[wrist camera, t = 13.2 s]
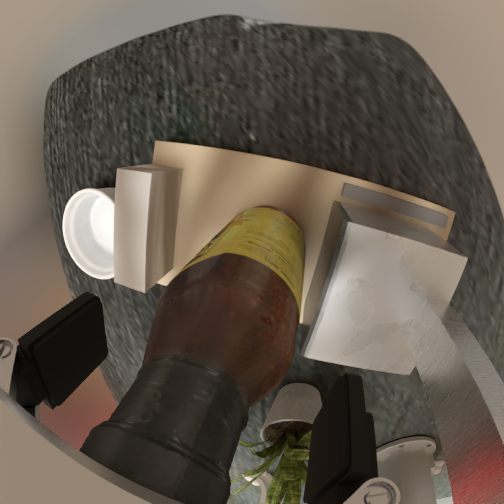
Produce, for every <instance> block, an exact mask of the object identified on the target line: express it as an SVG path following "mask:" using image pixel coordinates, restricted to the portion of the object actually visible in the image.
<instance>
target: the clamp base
mask: <svg viewBox="0 0 504 504" xmlns="http://www.w3.org/2000/svg"><path fill="white" fill-rule="evenodd" d="M333 200H334V201H338V202H341V203H345V204H349V205H352V206H356V207H360V208H363V209H367V210H370V211H374V212H377V213H380V214H384V215H387V216H390V217H394V218H397V219H400V220H403V221H406V222H410V223H413V224H416V225H419V226H422V227H425V228H428V229H430V230H431V231H433V232H434V233H436V234H437V235H438V236H440V237H441V238H442V239H444V240H445V241H446V242H447V239H448V236H449V233H450V229H451V226H452V223H453V220H454V216H455V213H456V212H454V211H452V210H449V209H447V208H445V207H442V206H440V205H437V204H434V203H432V202H429V201H426V200H424V199H421V198H418V197H415V196H412V195H409V194H406V193H403V192H400V191H397V190H394V189H391V188H388V187H385V186H382V185H378V184H375V183H372V182H368V181H365V180H362V179H358V178H355V177H351V176H347V175H344V174H340V173H336V172H332V171H329V170H325V169H321V168H317V167H312V166H308V165H304V164H300V163H295V162H291V161H286V160H281V159H277V158H272V157H267V156H262V155H256V154H251V153H245V152H240V151H234V150H228V149H222V148H215V147H208V146H201V145H194V144H186V143H178V142H169V141H155V148H154V156H153V163H152V164H147V165H139V166H131V167H123V168H117V175H116V188H115V205H114V282H116V283H118V284H121V285H124V286H127V287H129V288H132V289H135V290H138V291H141V292H143V293H146V292H147V291H148V290H149V289H150V288H151V287H152V286H154V285H155V284H156V283H159V284H162V285H165V286H167V285H168V284H169V283H170V281H171V280H172V279H173V278H174V277H175V276H176V275H177V274H178V273H179V272H180V271H181V270H182V269H183V267H184V266H185V265H186V264H187V263H189V262H190V261H191V260H192V259H193V258H194V257H195V255H196V254H197V253H198V252H199V251H200V250H201V249H202V248H203V247H204V246H205V245H206V244H207V243H208V242H209V241H210V240H211V239H212V238H213V237H214V236H215V235H217V234H218V233H219V232H220V231H221V230H222V229H223V228H224V227H225V226H226V225H227V224H228V223H229V222H230V221H231V220H232V219H233V218H234V217H235V216H236V215H237V214H239V213H241V212H243V211H246V210H248V209H251V208H254V207H257V206H260V205H267V206H268V205H269V206H273V207H277V208H279V209H282V210H283V211H285V212H287V213H288V214H290V215H291V216H293V217H294V219H295V220H296V221H297V223H298V225H299V227H300V229H301V231H302V233H303V237H304V241H305V247H306V255H305V271H304V282H303V293H302V304H301V314H300V323H303V312H304V304H305V301H306V297H307V294H308V291H309V288H310V284H311V281H312V278H313V274H314V271H315V267H316V264H317V261H318V257H319V253H320V250H321V246H322V243H323V239H324V235H325V232H326V228H327V224H328V220H329V216H330V212H331V208H332V204H333Z"/></svg>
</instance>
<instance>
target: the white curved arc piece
mask: <svg viewBox="0 0 504 504" xmlns="http://www.w3.org/2000/svg"><path fill="white" fill-rule="evenodd" d="M260 473H261V472H260ZM260 473H258V474H256V475H251V476H247V475H244V474H242V477H244V476H247V477H245V479H246V480H248V481H249V482H250V481H251V480H252V479H254V478H255V477H256V476H258V475H259V474H260ZM272 478H273V476H272V475H271V474H269V473H268V472H267V471H265V472H264V473H263V474H262V475H261V476H260V477H259V478H257V479H256V480H255V481H253V482H252V484H253V485H258V486H260V487H261V491H262V495H261V500H260V503H259V504H266V495H267V491H268V489H269V486H270V485H269V484H271V481H272Z"/></svg>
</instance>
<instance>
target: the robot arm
mask: <svg viewBox="0 0 504 504" xmlns="http://www.w3.org/2000/svg"><path fill="white" fill-rule="evenodd" d="M18 342H19V345H18V346H17V345H16V343H15V341H14V340H12V339H10V338H7V337H2V338H0V504H184V503H181V502H178V501H176V500H173V499H171V498H168V497H166V496H163V495H161V494H159V493H156V492H154V491H152V490H149V489H147V488H145V487H143V486H141V485H139V484H136V483H134V482H132V481H130V480H128V479H126V478H124V477H123V476H121V475H119V474H117V473H115V472H113V471H111V470H110V469H108V468H106V467H104V466H103V465H101V464H99V463H98V462H96V461H94V460H93V459H91V458H89V457H88V456H86V455H85V454H83V453H82V452H80V451H79V450H77V449H76V448H74V447H73V446H71V445H70V444H68V443H67V442H65V441H64V440H63V439H61V438H60V437H58V436H57V435H56V434H54V433H53V432H52V431H51V430H49V429H48V428H47V427H45V426H44V425H43V424H42V423H40V403H41V402H42V401H43V402H44V403H45V404H46V405H47V406H48V407H50V408H51V409H52V410H53V409H54V408H55V407H56V406H59V405H61V404H62V403H63V402H64V401H65V400H66V399H67V398H68V397H69V396H70V395H71V394H72V393H73V392H74V390H75V389H76V388H77V387H78V386H79V385H80V384H81V383H82V382H83V381H84V380H85V379H86V378H87V377H88V376H89V375H90V374H91V373H92V372H93V371H94V370H95V369H96V368H97V367H98V366H99V365H100V364H101V363H102V362H103V360H104V359H105V358H106V357H107V354H108V348H107V341H106V333H105V325H104V317H103V307H102V303H101V302H100V298H99V297H98V296H96V295H93V294H91V293H89V292H85V293H83V294H82V295H80V296H79V297H77V298H76V299H74V300H73V301H72V302H70V303H69V304H67V305H66V306H64V307H63V308H61V309H60V310H58V311H57V312H56V313H54V314H53V315H51V316H50V317H48V318H47V319H46V320H44V321H43V322H41V323H40V324H38V325H37V326H36V327H34V328H33V329H31V330H30V331H29V332H27V333H26V334H25V335H23V336H22V337H21V338H19V339H18ZM435 450H436V444H435V441H434V440H433V439H432V438H430V437H425V436H415V437H408V438H403V439H400V440H396V441H393V442H391V443H388V444H386V445H383V446H381V447H379V448H377V449H376V440H375V430H374V421H373V416H372V414H371V413H369V412H366V409H365V400H364V391H363V384H362V377H361V376H359V375H354V374H348V373H345V374H344V376H343V377H342V376H339V377H338V378H337V380H336V382H335V384H334V386H333V388H332V389H331V391H330V393H329V395H328V397H327V399H326V400H325V402H324V404H323V406H322V407H321V409H320V411H319V413H318V414H317V416H316V418H315V419H314V422H313V425H312V431H311V442H310V451H309V460H308V468H307V476H306V484H305V491H304V498H303V501H304V503H308V504H436V496H435V489H434V483H433V477H432V475H433V474H439V473H440V472H441V469H442V466H443V465H444V459H438V460H434V457H433V454H434V452H435Z"/></svg>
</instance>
